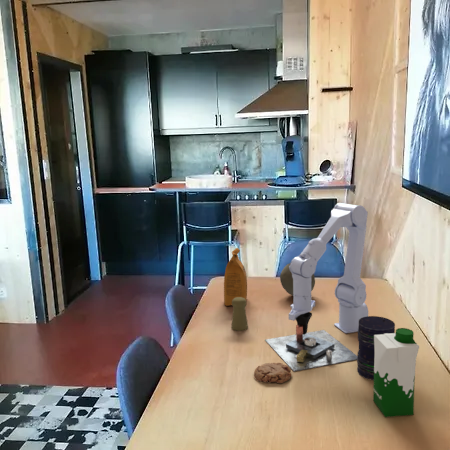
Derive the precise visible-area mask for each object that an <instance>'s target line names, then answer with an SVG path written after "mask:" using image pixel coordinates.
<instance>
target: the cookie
mask: <svg viewBox="0 0 450 450" xmlns="http://www.w3.org/2000/svg"><path fill="white" fill-rule="evenodd" d="M253 371H254V372H253V377H254V379H255V380H257V381H258V382H263V383H274V382H275V383H277V384H283V383H285V382H287V381H289V380H290V379H291V378H292V376H293V375H292V372H291V371H292V369H291V368H290V367H289V366H288V365H287V364H284V363H282V362H268V363H263V364H261V365H257V366H256V368H255V369H254V370H253Z"/></svg>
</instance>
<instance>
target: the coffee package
mask: <svg viewBox="0 0 450 450" xmlns="http://www.w3.org/2000/svg"><path fill="white" fill-rule="evenodd" d="M240 252H241V250H240V248H238V247H236V248H235V249H233V251H231V254H232V256H231V258H230V260H229V261H228V262H227V264H226V266H225V270H224V271H225V272H224V276H223V277H224V278H223V279H224V280H223V302H224V306H225V307H228V306H229V307H230V306H232V300H233V299H234V298H236V297H242V298H245V300H246V301H247V298H248V279H247V277H248V276H247V273H246V268H245V266H244V265H243V263H242V261H241V260H240V258H239V255H238V254H239V253H240Z"/></svg>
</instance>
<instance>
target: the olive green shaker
mask: <svg viewBox="0 0 450 450" xmlns="http://www.w3.org/2000/svg"><path fill="white" fill-rule="evenodd" d="M231 306H232V307H233V309H232V319H231V320H232V321H231V330H233V331H236V332H241V331H243V332H244V331H246V330H248V329H249V325H248V318H247V312H246V306H247V299H246V300H245V298H242V297H236V298H234V299H233V300H232V305H231Z"/></svg>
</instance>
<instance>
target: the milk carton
mask: <svg viewBox="0 0 450 450" xmlns="http://www.w3.org/2000/svg"><path fill="white" fill-rule="evenodd" d="M414 335H415V333H414V331H413V330H412V329H409V328H405V327H400V328H399V327H398V328H396V329H395V333H390V334H388V333H385V334H380V335H374V347H375V358H374V380H373V395H372V396H373V397H372V398H373V399H372V401H373V402H374V404H375V405H376V407H377V408H378V409H379V411H380V412H381V413H382V415H383V417H385V418H391V417H401V416H402V417H403V416H404V417H405V416H413V415H414V413H415V412H414V407H415V383H416V382H415V379H416V364H417V363H416V362H417V356H418V353H419V349H420V345H419V344H418V343H417V342H416V341H415V339H414Z"/></svg>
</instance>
